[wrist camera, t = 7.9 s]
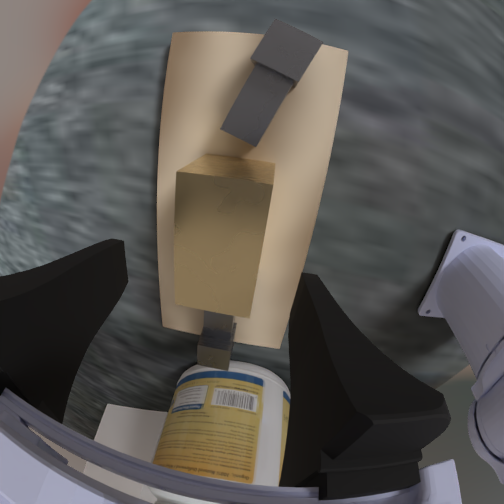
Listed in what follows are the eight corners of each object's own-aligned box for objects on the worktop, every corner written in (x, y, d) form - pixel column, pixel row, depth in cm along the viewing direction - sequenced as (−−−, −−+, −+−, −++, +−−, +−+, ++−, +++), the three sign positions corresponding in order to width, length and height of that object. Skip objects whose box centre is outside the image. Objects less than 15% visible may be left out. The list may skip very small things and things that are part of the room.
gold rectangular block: (275, 163, 15) (273, 184, 11) (257, 268, 18) (249, 318, 14) (206, 153, 15) (176, 171, 11) (198, 257, 18) (175, 304, 14)
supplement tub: (163, 383, 28) (119, 509, 14) (219, 335, 23) (170, 527, 8) (245, 422, 31) (229, 536, 16) (315, 387, 26) (317, 539, 11)
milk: (167, 412, 32) (121, 567, 10) (199, 443, 37) (170, 570, 15) (107, 403, 35) (56, 529, 12) (143, 435, 40) (107, 545, 17)
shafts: (317, 42, 11) (325, 27, 9) (258, 347, 22) (254, 375, 19) (236, 32, 11) (227, 15, 9) (205, 337, 22) (197, 364, 20)
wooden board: (344, 54, 12) (348, 51, 11) (279, 340, 23) (279, 348, 22) (178, 36, 12) (173, 32, 12) (166, 319, 23) (162, 326, 22)
